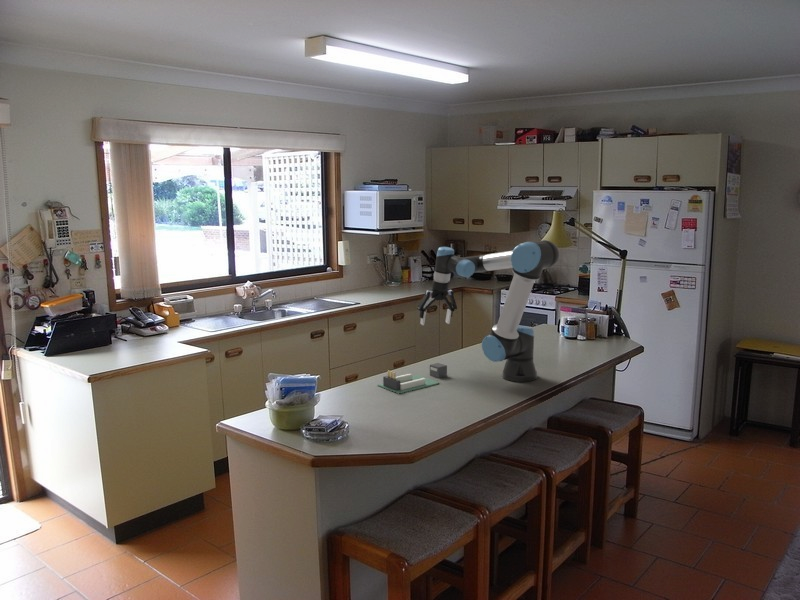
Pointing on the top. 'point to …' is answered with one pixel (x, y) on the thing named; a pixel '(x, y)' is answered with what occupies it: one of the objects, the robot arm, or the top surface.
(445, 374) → the plug
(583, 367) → the top surface
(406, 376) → the header board
